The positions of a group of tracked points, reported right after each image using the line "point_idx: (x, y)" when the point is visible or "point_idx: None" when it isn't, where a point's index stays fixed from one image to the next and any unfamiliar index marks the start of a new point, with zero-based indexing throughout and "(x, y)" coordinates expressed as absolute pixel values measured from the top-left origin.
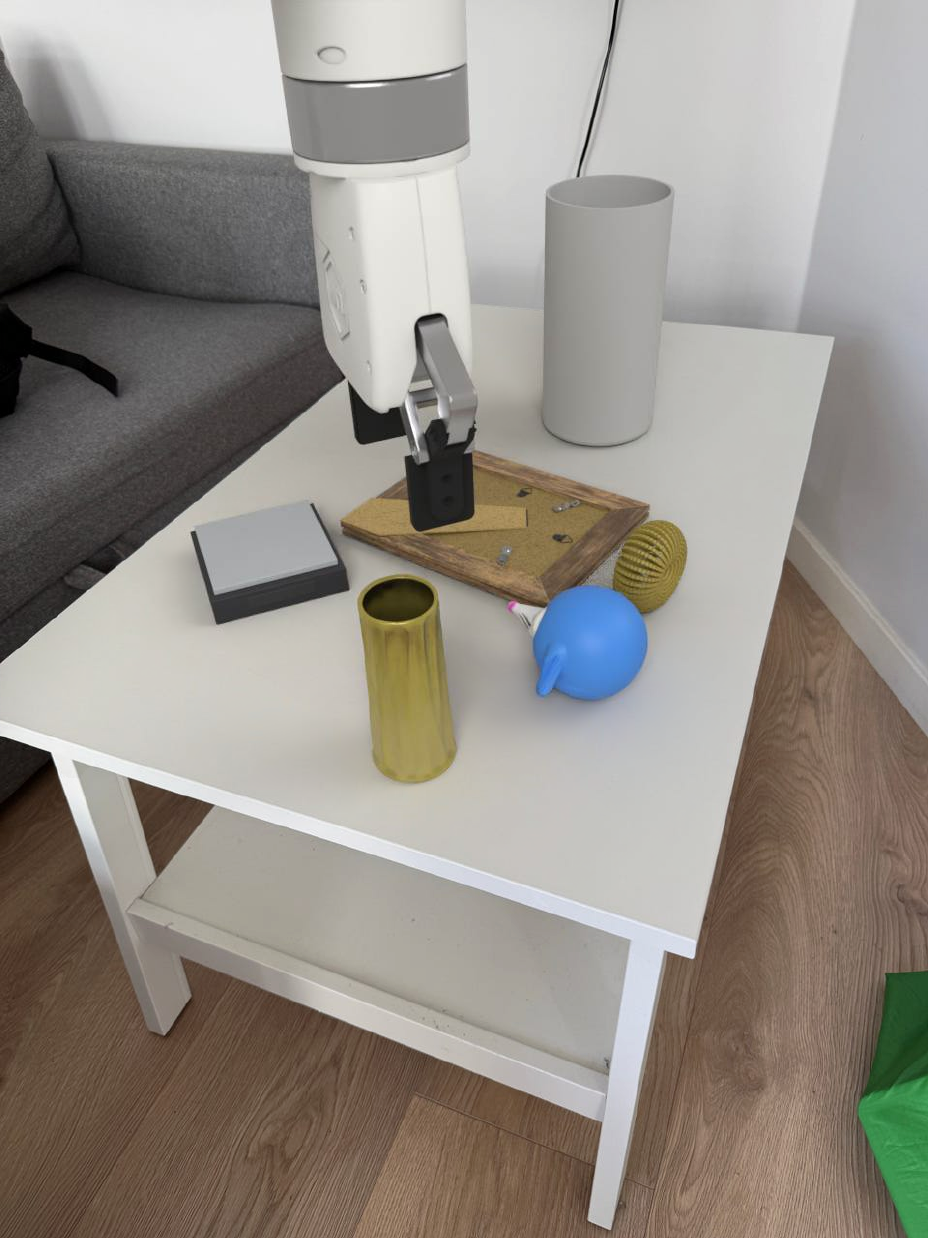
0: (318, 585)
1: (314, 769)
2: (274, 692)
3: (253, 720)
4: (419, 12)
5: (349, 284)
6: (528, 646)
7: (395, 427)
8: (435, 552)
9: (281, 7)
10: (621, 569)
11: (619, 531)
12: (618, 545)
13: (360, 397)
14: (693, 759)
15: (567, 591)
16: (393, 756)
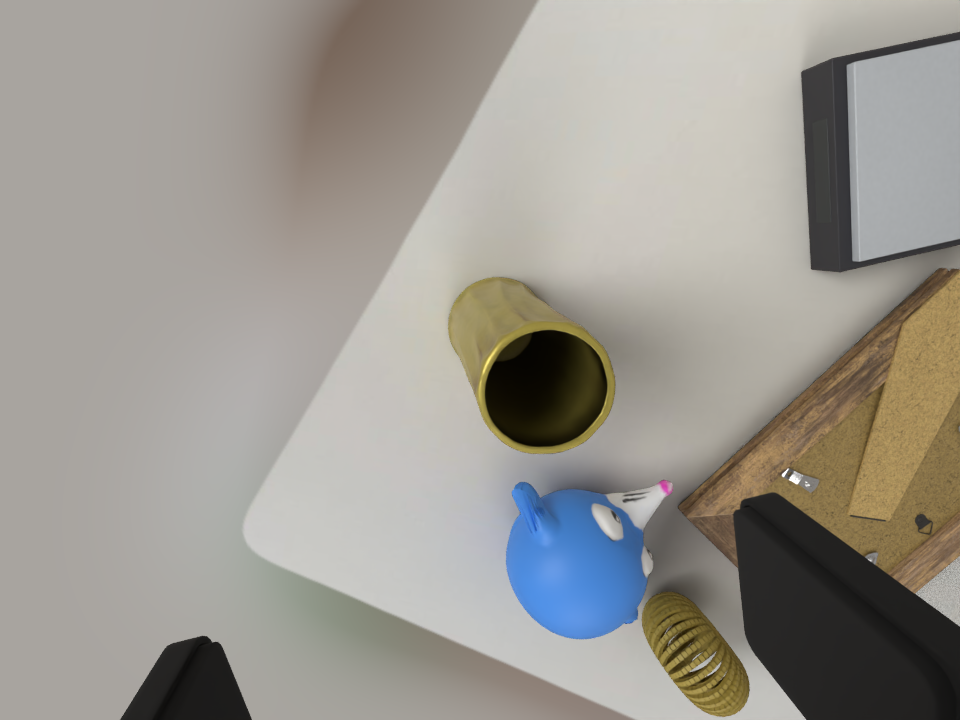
0: (824, 228)
1: (495, 204)
2: (639, 156)
3: (595, 127)
4: None
5: None
6: (635, 474)
7: (763, 630)
8: (836, 395)
9: None
10: (682, 628)
11: None
12: None
13: (864, 642)
14: (429, 598)
15: (629, 575)
16: (464, 305)
